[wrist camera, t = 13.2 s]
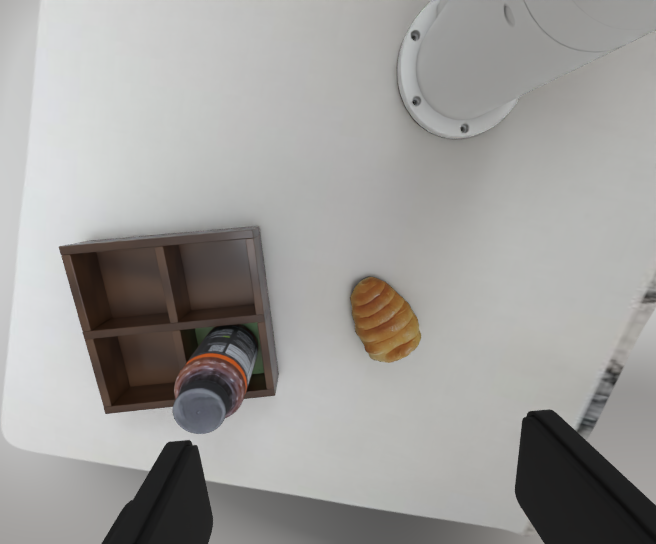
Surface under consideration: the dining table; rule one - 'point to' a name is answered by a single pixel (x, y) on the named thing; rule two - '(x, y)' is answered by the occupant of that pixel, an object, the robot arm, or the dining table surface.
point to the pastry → (384, 321)
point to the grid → (167, 308)
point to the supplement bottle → (215, 378)
